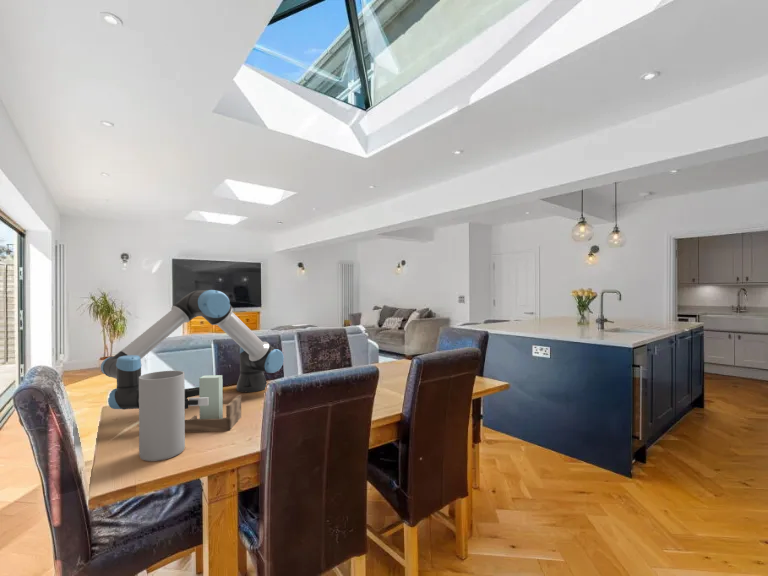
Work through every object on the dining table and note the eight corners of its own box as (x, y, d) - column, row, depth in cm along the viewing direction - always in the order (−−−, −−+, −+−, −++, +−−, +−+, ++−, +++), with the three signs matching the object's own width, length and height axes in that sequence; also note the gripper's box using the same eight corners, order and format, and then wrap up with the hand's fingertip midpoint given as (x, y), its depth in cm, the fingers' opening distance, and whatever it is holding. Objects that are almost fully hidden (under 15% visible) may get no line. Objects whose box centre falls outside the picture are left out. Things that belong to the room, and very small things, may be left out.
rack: (194, 421, 148) (194, 396, 148) (241, 420, 150) (241, 394, 150) (178, 435, 134) (177, 407, 134) (229, 433, 136) (229, 405, 136)
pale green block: (203, 422, 144) (203, 375, 144) (222, 422, 144) (222, 375, 144) (199, 426, 140) (199, 378, 140) (219, 425, 140) (218, 377, 140)
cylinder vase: (191, 452, 120) (190, 374, 120) (146, 466, 111) (146, 381, 111) (176, 442, 129) (176, 369, 129) (134, 454, 119) (133, 375, 119)
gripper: (172, 398, 153) (226, 396, 154) (137, 419, 128) (201, 417, 129) (172, 379, 153) (226, 378, 154) (137, 397, 128) (201, 395, 129)
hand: (215, 396), depth 142 cm, fingers open, 13 cm apart
